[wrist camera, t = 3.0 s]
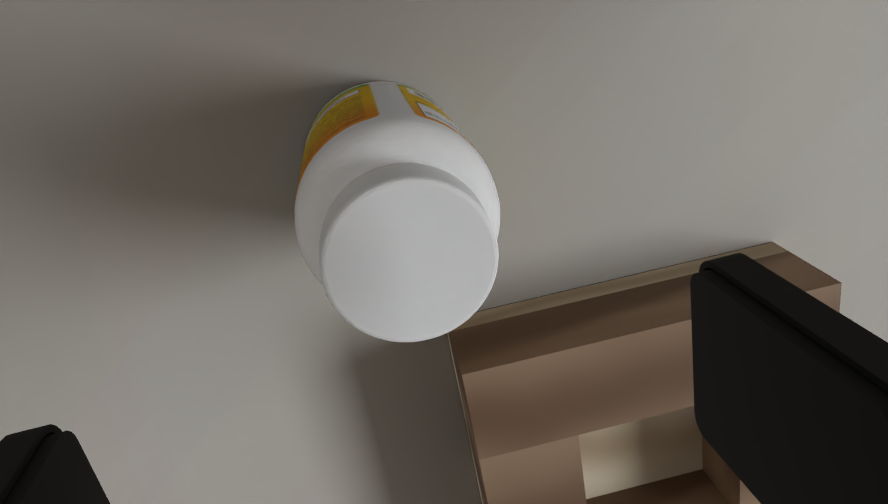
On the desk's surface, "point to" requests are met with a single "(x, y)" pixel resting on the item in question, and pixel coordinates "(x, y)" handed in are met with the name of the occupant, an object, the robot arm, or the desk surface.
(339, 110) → the supplement bottle
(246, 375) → the desk surface
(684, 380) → the socket block
